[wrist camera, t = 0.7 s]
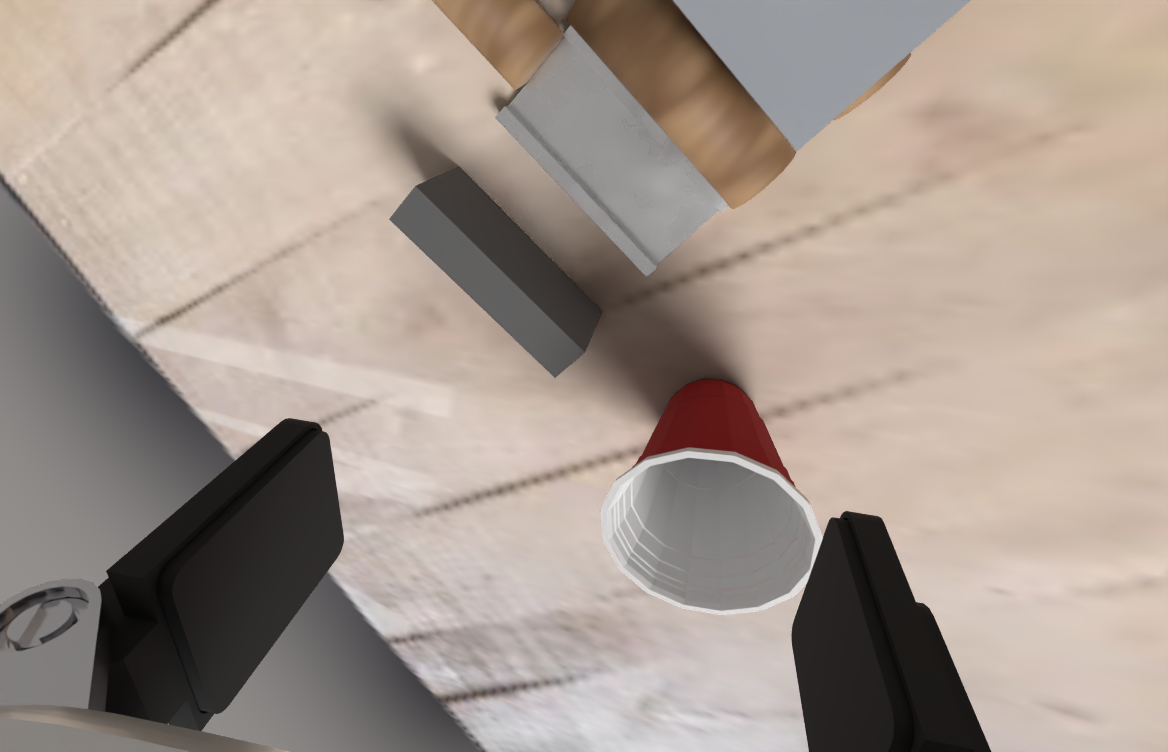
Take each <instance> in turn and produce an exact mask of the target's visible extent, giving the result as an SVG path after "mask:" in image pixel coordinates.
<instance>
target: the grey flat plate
mask: <svg viewBox="0 0 1168 752" xmlns="http://www.w3.org/2000/svg"><path fill="white" fill-rule="evenodd" d="M563 36H564V38H563V40H562V41H561V42H560V43H559V45H558V46H557V47H556V48H555V49H554V51H553V52H552V53H551V54H550V56H549V57H548V58H547V59H546V60H545V62H544V63H543V64H542V65H541V66H540V68H539V69H538V70H537V71H536V73H535V74H534V75H533V76H532V77H531V79H530V80H529V81H528V82H527V84H526V85H525V86H524V87H523V88H522V90H521V91H520V92H519V93H518V94H517V96H516V97H515V98H514V99H513V101H512V102H511V103H510V104H509V105H507V106H504V107H503V108H502V110H501V111H500V112H499V113H498V115H497V116H496V117H495V118H496V119H497V120H498V121H499V122H500V123H501V124H502V125H503V126H504V127H505V128H506V130H507V131H508V132H509V133H510V134H511V135H512V136H513V137H514V138H515V139H516V140H517V141H518V142H519V143H520V144H521V145H522V146H523V147H524V148H525V150H526V151H527V152H528V153H529V154H530V155H531V156H532V157H533V158H534V159H535V160H536V161H537V162H538V163H539V164H540V165H541V166H542V167H543V169H544V170H545V171H546V172H547V173H548V174H549V175H550V176H551V177H552V178H553V179H554V180H555V181H556V182H557V183H558V184H559V185H560V186H561V187H562V189H563V190H564V191H565V192H566V193H567V194H568V195H569V196H570V197H571V198H572V199H573V200H574V201H575V202H576V203H577V204H578V205H579V206H580V208H581V209H582V210H583V211H584V212H585V213H586V214H587V215H588V216H589V217H590V218H591V219H592V220H593V221H594V222H595V223H596V224H597V225H598V227H599V228H600V229H601V230H602V231H603V232H604V233H605V234H606V235H607V236H608V237H609V238H610V239H611V240H612V241H613V242H614V243H615V244H616V245H617V247H618V248H619V249H620V250H621V251H622V252H623V253H624V254H625V255H626V256H627V257H628V258H629V259H630V260H631V261H632V262H633V263H634V264H635V266H636V267H637V268H638V269H639V270H640V271H641V272H642V273H643V274H644V275H645V276H646V277H647V276H648V275H649V274H651V273H652V272H653V271H654V270H655V269H656V268H657V265H658V263H659V262H661V261H662V260H663V259H664V258H665V257H666V256H667V255H669V254H670V253H671V252H672V251H673V250H674V249H675V248H676V247H678V246H679V245H680V244H681V243H682V242H683V241H684V240H686V239H687V238H688V237H689V236H690V235H691V234H692V233H694V232H695V231H696V230H697V229H698V228H699V227H700V226H702V225H703V224H704V223H705V222H706V221H707V220H708V219H710V218H711V217H712V216H713V215H714V214H715V213H716V212H718V211H719V212H721V211H723V210H724V209H725V208H726V207H727V206H728V204H727V203H726V202H725V201H724V200H723V198H722V197H721V196H720V195H719V194H718V193H717V192H716V190H715V189H714V188H713V187H712V186H711V185H710V184H709V182H708V181H707V180H706V179H705V178H704V177H703V176H702V174H701V173H700V172H699V171H698V170H697V169H696V168H695V166H694V165H693V164H692V163H691V162H690V161H689V160H688V159H687V157H686V156H685V155H684V154H683V153H682V152H681V151H680V149H679V148H678V147H677V146H676V145H675V144H674V143H673V141H672V140H671V139H670V138H669V137H668V136H667V135H666V133H665V132H664V131H663V130H662V129H661V128H660V127H659V125H658V124H657V123H656V122H655V121H654V120H653V119H652V117H651V116H650V115H649V114H648V113H647V112H646V111H645V109H644V108H643V107H642V106H641V105H640V104H639V103H638V101H637V100H636V99H635V98H634V97H633V96H632V95H631V93H630V92H629V91H628V90H627V89H626V88H625V87H624V85H623V84H622V83H621V82H620V81H619V80H618V79H617V78H616V76H615V75H614V74H613V73H612V72H611V71H610V70H609V68H608V67H607V66H606V65H605V64H604V63H603V62H602V60H601V59H600V58H599V57H598V56H597V55H596V54H595V52H594V51H593V50H592V49H591V48H590V47H589V46H588V44H587V43H586V42H585V41H584V40H583V39H582V38H581V36H580V35H579V34H578V33H577V32H576V31H575V30H574V28H573V27H572V26H571V25H570V27H569V28H568V29H567V30H566V31H565V33H564V34H563Z"/></svg>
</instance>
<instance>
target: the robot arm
mask: <svg viewBox="0 0 1168 752" xmlns="http://www.w3.org/2000/svg"><path fill="white" fill-rule="evenodd" d="M343 542H344V535H343V528H342V521H341V514H340V507H339V501H338V494H337V487H336V480H335V473H334V466H333V460H332V453H331V446H330V439H329V436H328V434H327V433H326V432H323V431H322V428H321V426H320V425H319V424H318V423H315V422H309V421H303V420H297V419H291V418H288V419H285V420H283V421H281V422H280V423H279V424H278V425H277V426H275V427H274V428H273V429H272V430H271V431H270V432H268V433H267V434H266V435H265V436H264V437H263V438H261V439H260V440H259V441H258V442H257V443H256V444H254V445H253V446H252V447H251V448H250V449H249V450H247V451H246V452H245V453H244V454H243V455H242V456H240V457H239V458H238V459H237V460H236V461H235V462H233V463H232V464H231V465H230V466H229V467H228V468H226V469H225V470H224V471H223V472H222V473H220V474H219V475H218V476H217V477H216V478H215V479H213V480H212V481H211V482H210V483H209V484H208V485H206V486H205V487H204V488H203V489H202V490H201V491H199V492H198V493H197V494H196V495H195V496H194V497H192V498H191V499H190V500H189V501H188V502H187V503H185V504H184V505H183V506H182V507H181V508H180V509H178V510H177V511H176V512H175V513H174V514H173V515H171V516H170V517H169V518H168V519H167V520H165V521H164V522H163V523H162V524H161V525H160V526H158V527H157V528H156V529H155V530H154V531H153V532H151V533H150V534H149V535H148V536H147V537H146V538H144V539H143V540H142V541H141V542H140V543H139V544H137V545H136V546H135V547H134V548H133V549H132V550H130V551H129V552H128V553H127V554H126V555H124V556H123V557H122V558H121V559H120V560H119V561H117V562H116V563H115V564H114V565H113V566H112V567H110V568H109V569H108V570H107V571H106V572H107V574H108V577H109V578H108V579H107V580H105V581H104V582H103V583H102V584H101V585H100V586H99V587H97V586H96V585H95V584H94V583H92V582H89V581H86V580H82V579H62V580H57V581H52V582H46V583H44V584H40V585H38V586H35V587H32V588H29V589H26V590H24V591H23V592H21V593H19V594H17V595H15V596H13V597H11V598H9V599H7V600H6V601H4V602H3V603H2V604H0V752H290V751H285V750H281V749H277V748H272V747H268V746H263V745H259V744H254V743H250V742H245V741H241V740H237V739H233V738H228V737H224V736H220V735H215V734H211V733H206V732H202V729H203V728H204V727H205V725H206V724H207V723H208V721H209V720H210V719H211V717H212V716H213V715H214V713H215V714H218V713H221V712H222V711H224V710H225V709H226V708H227V707H228V706H229V704H230V703H231V702H232V700H233V699H234V697H235V696H236V695H237V694H238V692H239V691H240V689H241V688H242V687H243V685H244V684H245V683H246V681H247V680H248V678H249V677H250V676H251V675H252V673H253V672H254V670H255V669H256V668H257V666H258V665H259V664H260V662H261V661H262V660H263V658H264V657H265V655H266V654H267V653H268V651H269V650H270V649H271V647H272V646H273V644H274V643H275V642H276V640H277V639H278V638H279V636H280V635H281V634H282V632H283V631H284V630H285V628H286V627H287V626H288V624H289V623H290V621H291V620H292V619H293V617H294V616H295V615H296V613H297V612H298V611H299V609H300V608H301V606H302V605H303V604H304V602H305V601H306V599H307V598H308V597H309V596H310V594H311V593H312V591H313V590H314V589H315V587H316V586H317V585H318V583H319V582H320V580H321V579H322V578H323V576H324V575H325V574H326V572H327V571H328V570H329V568H330V567H331V566H332V564H333V563H334V562H335V560H336V559H337V557H338V556H339V554H340V552H341V550H342V547H343ZM792 647H793V653H794V660H795V666H796V672H797V679H798V685H799V691H800V697H801V704H802V710H803V716H804V723H805V729H806V735H807V741H808V748H809V752H991V750H990V748H989V745H988V743H987V741H986V738H985V736H984V733H983V731H982V729H981V726H980V724H979V722H978V719H977V717H976V715H975V712H974V710H973V708H972V705H971V703H970V700H969V698H968V696H967V693H966V691H965V689H964V686H963V684H962V682H961V679H960V677H959V674H958V672H957V670H956V667H955V665H954V663H953V660H952V658H951V656H950V653H949V651H948V649H947V646H946V644H945V641H944V639H943V637H942V634H941V632H940V630H939V627H938V625H937V623H936V620H935V618H934V616H933V614H932V612H931V611H930V609H929V608H928V607H927V606H926V605H925V604H923V603H918V602H916V601H915V599H914V596H913V594H912V591H911V589H910V586H909V584H908V581H907V579H906V576H905V574H904V571H903V569H902V566H901V564H900V561H899V559H898V557H897V554H896V552H895V549H894V547H893V544H892V542H891V539H890V537H889V534H888V532H887V529H886V527H885V524H884V522H883V520H882V518H880V517H879V516H873V515H867V514H861V513H855V512H849V511H845V512H843V514H842V515H841V517H840V518H834V517H833V518H831V519H830V520H829V522H828V525H827V528H826V531H825V533H824V536H823V539H822V542H821V545H820V548H819V551H818V553H817V556H816V559H815V562H814V565H813V568H812V570H811V573H810V576H809V579H808V582H807V585H806V588H805V590H804V593H803V596H802V599H801V602H800V605H799V608H798V610H797V613H796V616H795V619H794V622H793V627H792ZM168 723H169V725H168Z"/></svg>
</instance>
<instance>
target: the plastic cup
mask: <svg viewBox="0 0 1168 752" xmlns="http://www.w3.org/2000/svg"><path fill="white" fill-rule="evenodd" d="M600 514H601V531H602V541H603V543H604V545H605V546H606V548H607V550H608V552H609V553H610V555H611V557H612V559H613V560H614V562H615V564H616V566H617V567H618V569H619V570H620V571H621V572H623V573H624V574H625V575H626V576H627V577H628V578H630V579H631V580H632V581H633V582H634V583H636V584H637V585H638V586H639V587H640V588H641V589H643V590H644V591H645V592H646V593H648V594H651V595H653V596H655V597H657V598H660V599H662V600H664V601H666V602H669V603H671V604H673V605H675V606H678V607H680V608H682V609H688V610H694V611H700V612H706V613H712V614H718V615H728V614H737V613H747V612H757V611H763V610H765V609H767V608H769V607H772V606H774V605H776V604H778V603H780V602H783V601H785V600H787V599H789V598H792V597H794V596H795V595H796V594H797V593H798V592H799V591H800V590H801V589H802V588H803V587H804V585H805V584H806V583H807V582H808V579H809V576H810V573H811V570H812V568H813V565H814V562H815V559H816V556H817V553H818V551H819V548H820V545H821V542H822V539H823V536H822V534H821V531H820V528H819V526H818V523H817V521H816V518H815V515H814V513H813V510H812V507H811V505H810V503H809V501H808V499H807V498H806V497H805V496H804V495H803V494H802V493H801V492H800V491H799V490H797V489H796V487H795V485H794V482H793V481H792V480H791V479H790V476H789V474H788V471H787V469H786V468H785V467H784V466H783V464H782V462H781V459H780V457H779V455H778V453H777V450H776V448H775V446H774V444H773V441H772V439H771V437H770V435H769V432H768V430H767V428H766V426H765V424H764V421H763V420H762V419H761V418H760V417H759V414H758V412H757V410H756V408H755V406H754V403H753V401H752V400H751V399H750V398H749V397H748V396H747V395H746V394H745V393H744V392H743V391H742V390H741V389H739V388H738V387H737V386H735V385H733V384H730V383H728V382H725V381H723V380H714V379H702V380H699V381H696V382H693V383H689V384H687V385H686V386H684V387H683V388H682V389H681V390H679V391H678V392H677V393H676V394H675V395H674V396H673V397H672V398H671V399H670V401H669V403H668V405H667V407H666V409H665V411H664V413H663V415H662V416H661V418H660V420H659V422H658V424H657V426H656V428H655V430H654V432H653V434H652V436H651V438H650V440H649V442H648V444H647V446H646V448H645V450H644V452H643V454H642V456H640V457H639V459H638V461H637V463H636V464H635V465H634V466H633V467H632V468H631V469H630V470H628V471H627V472H625V473H624V474H623V475H621V476H620V477H618V478H617V480H616V481H615V482H614V484H613V486H612V488H611V490H610V492H609V494H608V496H607V498H606V500H605V502H604V503H603V505H602V507H601V509H600Z"/></svg>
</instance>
